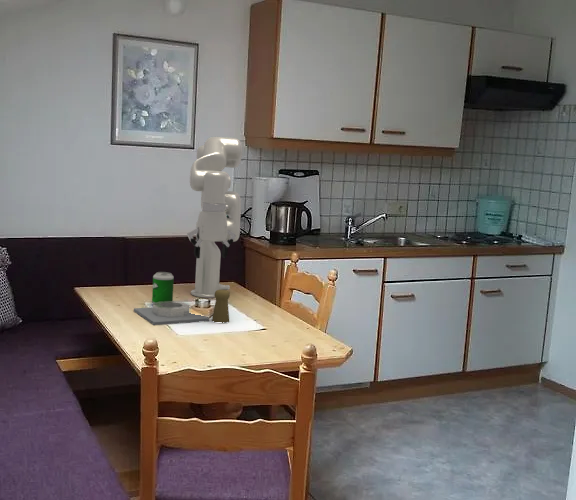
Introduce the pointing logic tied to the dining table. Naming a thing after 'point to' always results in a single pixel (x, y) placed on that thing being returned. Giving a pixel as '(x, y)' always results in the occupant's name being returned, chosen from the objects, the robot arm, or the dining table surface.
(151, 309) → the slate board
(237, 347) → the dining table surface
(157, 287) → the soda can
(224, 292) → the cork
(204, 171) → the robot arm
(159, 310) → the steel collar
